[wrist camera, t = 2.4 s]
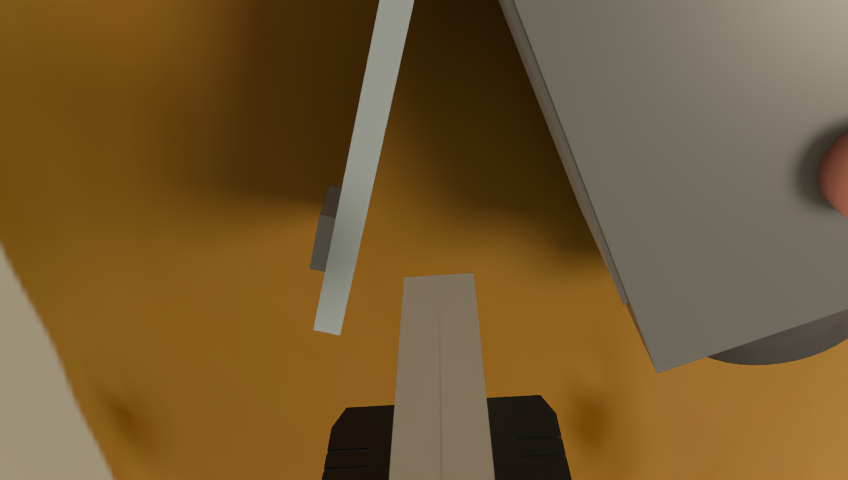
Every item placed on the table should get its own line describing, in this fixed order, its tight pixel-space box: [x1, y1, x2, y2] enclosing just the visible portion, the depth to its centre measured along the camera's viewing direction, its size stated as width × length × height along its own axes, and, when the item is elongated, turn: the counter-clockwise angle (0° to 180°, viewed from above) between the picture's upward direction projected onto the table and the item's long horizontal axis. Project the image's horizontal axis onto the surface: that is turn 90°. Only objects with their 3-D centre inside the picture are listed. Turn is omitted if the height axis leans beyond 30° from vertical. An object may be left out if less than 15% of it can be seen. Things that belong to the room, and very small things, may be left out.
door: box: [310, 0, 414, 335], centre depth 22 cm, size 13×2×8 cm, turn 167°
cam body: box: [498, 0, 848, 373], centre depth 21 cm, size 19×9×11 cm, turn 25°
